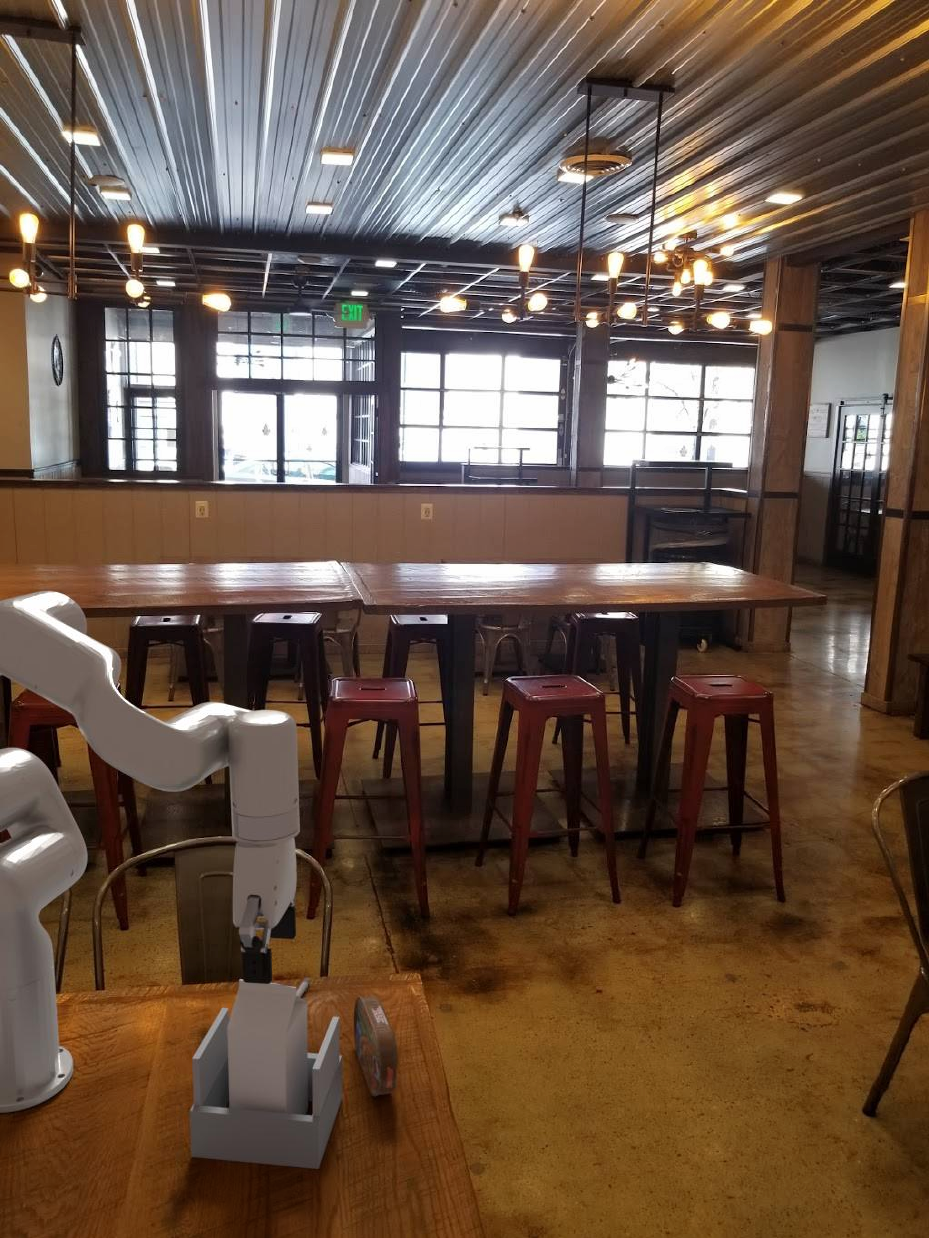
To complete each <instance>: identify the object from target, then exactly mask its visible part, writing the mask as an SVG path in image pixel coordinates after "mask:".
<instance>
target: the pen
mask: <svg viewBox="0 0 929 1238" xmlns="http://www.w3.org/2000/svg"><path fill="white" fill-rule="evenodd" d="M310 980H311V979H310V977H306V978H304V979H303V981H302V982H301V984H300V985H299V987H298V988H297V989H296V995H297V996H298V997H300V998H302V996H303V994H304V993H306V992H307V990H308V988H309V984H310Z"/></svg>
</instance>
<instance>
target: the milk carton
mask: <svg viewBox="0 0 929 1238" xmlns="http://www.w3.org/2000/svg"><path fill="white" fill-rule="evenodd" d="M296 992H297V987H296V986H292V985H291V986H290V985H286V984H285V985H284V984H281V983H274V982H271V983H270V984H259V983H246V982H244V981H243V978H242V979H241V978H240V979H239V980H238V990H237V993H236V997H235V999H234V1000H235V1001H234V1003H233V1006H232V1010H231V1014H230V1015H229V1023H228V1026H227V1034H228V1071H229V1100H228V1103H229V1105H228V1108H233V1109H244V1110H255V1111H266V1112H277V1113H288V1114H299V1115H307V1113H308V1111H309V1101H308V1053H309V1052H308V1001H306V999H303V997H298V996H297V995H296Z"/></svg>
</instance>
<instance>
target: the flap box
mask: <svg viewBox="0 0 929 1238" xmlns="http://www.w3.org/2000/svg"><path fill="white" fill-rule="evenodd" d="M229 1008H230V1007H222V1008H221V1009H220V1012H219V1013H218V1014H217V1016H216V1018H215V1020H214V1021H213V1023H212V1025H211V1026H210V1028H209V1030H208V1032H207V1033H206V1034H205V1036H204V1038H203V1039H202V1041H201V1043H200V1045H199V1046H198V1048H197V1050H196V1052H195V1053H194V1055H193V1057H192V1058H191V1059H192V1084H193V1085H192V1086H193V1089H192V1091H193V1092H192V1093H193V1104H192V1106H191V1108H190V1110H189V1125H190V1126H189V1127H190V1128H189V1129H190V1151H191V1154H190V1155H191V1156H190V1157H191V1158H199V1159H209V1160H210V1159H212V1160H220V1161H230V1162H231V1161H233V1162H239V1163H240V1162H241V1163H242V1162H243V1163H250V1164H251V1163H253V1164H264V1165H273V1166H283V1167H292V1168H293V1167H295V1168H296V1167H297V1168H305V1169H314V1170H318V1169H320V1168H321V1167H320V1166H321V1164H322V1160H323V1157H324V1154H325V1152H326V1149H327V1148H326V1147H327V1145H328V1142H329V1139H330V1136H331V1133H332V1130H333V1127H334V1124H335V1122H336V1121H335V1120H336V1118H337V1115H338V1112H339V1108H340V1106H341V1103H342V1100H343V1055H341V1054H340V1016H332V1019H331V1020H330V1023H329V1026H328V1028H327V1031H326V1033H325V1036H324V1039H323V1041H322V1043H321V1046H320V1048H319V1050H318V1051H319V1052H318V1053H313V1052H308V1102H312V1114H311V1115H310V1114H306V1115H299V1114H288V1113H277V1112H266V1111H255V1110H244V1109H233V1108H229V1107H226V1106H227V1105H228V1103H229V1071H228V1034H227V1026H228V1023H229V1020H230V1010H229Z"/></svg>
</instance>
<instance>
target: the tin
mask: <svg viewBox="0 0 929 1238" xmlns="http://www.w3.org/2000/svg"><path fill="white" fill-rule="evenodd" d="M395 1036H396V1035H395V1033H394V1030H393V1027H392V1024H391V1022H390V1020H389V1018H388V1016H387V1013H386V1011H385V1009H384V1005H383V1004H382V1002H381V1000H380V998H379V997H378V996H376V995H375V996H374V995H373V996H372V995H371V996H358V997H357V998H356V1000H355V1003H354V1009H353V1038H354V1045H355V1047H354V1048H355V1052H356V1056H357V1058H358V1062H359V1064H360V1067H361V1071H362V1073H363V1076H364V1078H365V1082H366V1085H367V1088H368V1090H369V1092H370V1095H372V1097H377V1096H380V1095H388V1094H392V1093H394V1092H395V1090H396V1089H397V1077H398V1076H397V1072H398V1065H399V1064H398V1063H399V1055H398V1054H399V1053H398V1045H397V1040H396V1037H395Z"/></svg>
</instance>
